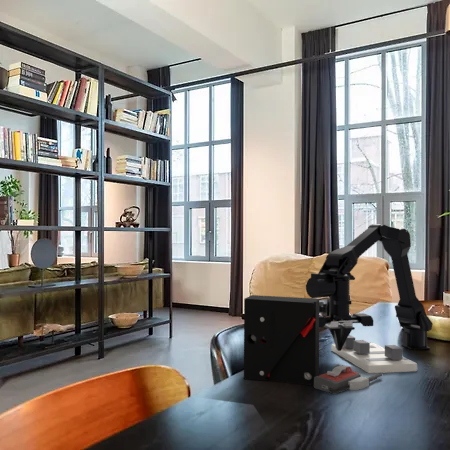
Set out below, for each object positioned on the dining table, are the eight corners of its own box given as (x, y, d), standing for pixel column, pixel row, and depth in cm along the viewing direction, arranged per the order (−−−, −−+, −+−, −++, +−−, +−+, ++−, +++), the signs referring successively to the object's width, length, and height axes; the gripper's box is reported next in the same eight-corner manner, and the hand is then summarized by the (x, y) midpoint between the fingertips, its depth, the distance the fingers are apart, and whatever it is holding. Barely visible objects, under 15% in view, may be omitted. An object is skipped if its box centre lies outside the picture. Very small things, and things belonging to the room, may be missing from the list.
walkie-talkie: (340, 400, 101) (385, 381, 115) (340, 379, 102) (385, 363, 115) (308, 389, 108) (354, 373, 122) (308, 371, 108) (354, 356, 122)
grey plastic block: (349, 344, 142) (349, 334, 142) (355, 347, 138) (355, 337, 138) (340, 344, 141) (340, 335, 141) (345, 348, 137) (345, 337, 137)
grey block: (362, 350, 135) (363, 339, 135) (369, 353, 131) (369, 343, 131) (353, 350, 134) (353, 340, 134) (359, 353, 130) (359, 343, 130)
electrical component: (320, 375, 117) (320, 297, 118) (314, 388, 108) (314, 302, 108) (254, 368, 123) (254, 294, 123) (242, 379, 113) (243, 298, 114)
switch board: (372, 348, 146) (372, 342, 146) (417, 371, 123) (417, 363, 123) (331, 350, 144) (331, 343, 144) (368, 373, 120) (368, 365, 120)
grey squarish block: (394, 355, 129) (394, 344, 129) (402, 359, 125) (402, 348, 125) (384, 355, 129) (384, 345, 129) (392, 359, 125) (392, 348, 125)
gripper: (356, 292, 141) (356, 342, 141) (298, 292, 138) (298, 344, 138) (374, 297, 130) (374, 352, 130) (312, 297, 127) (312, 354, 127)
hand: (338, 350), depth 131 cm, fingers closed
